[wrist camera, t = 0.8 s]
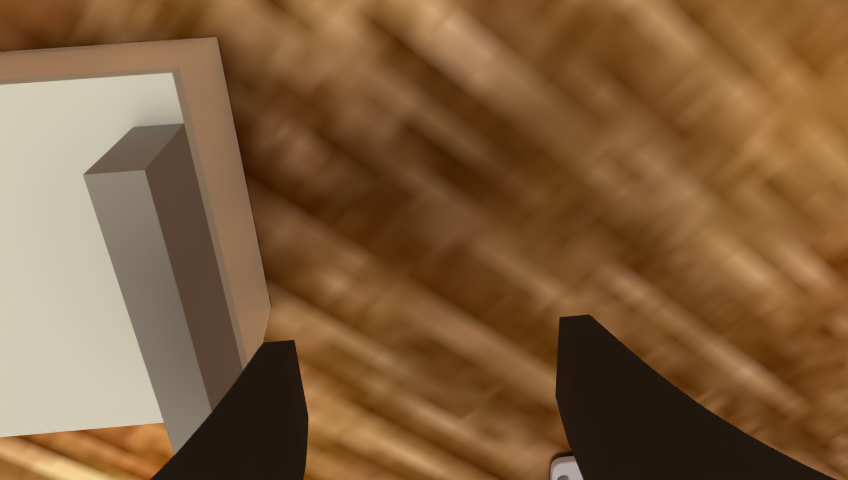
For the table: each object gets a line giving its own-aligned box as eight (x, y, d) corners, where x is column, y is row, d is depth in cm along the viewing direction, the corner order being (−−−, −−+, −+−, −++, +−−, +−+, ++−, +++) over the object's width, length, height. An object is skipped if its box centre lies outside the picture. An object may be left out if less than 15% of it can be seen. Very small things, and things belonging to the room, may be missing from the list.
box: (216, 36, 20) (176, 72, 16) (271, 308, 24) (250, 390, 20) (-187, 64, 19) (-337, 108, 15) (-53, 335, 24) (-139, 424, 20)
